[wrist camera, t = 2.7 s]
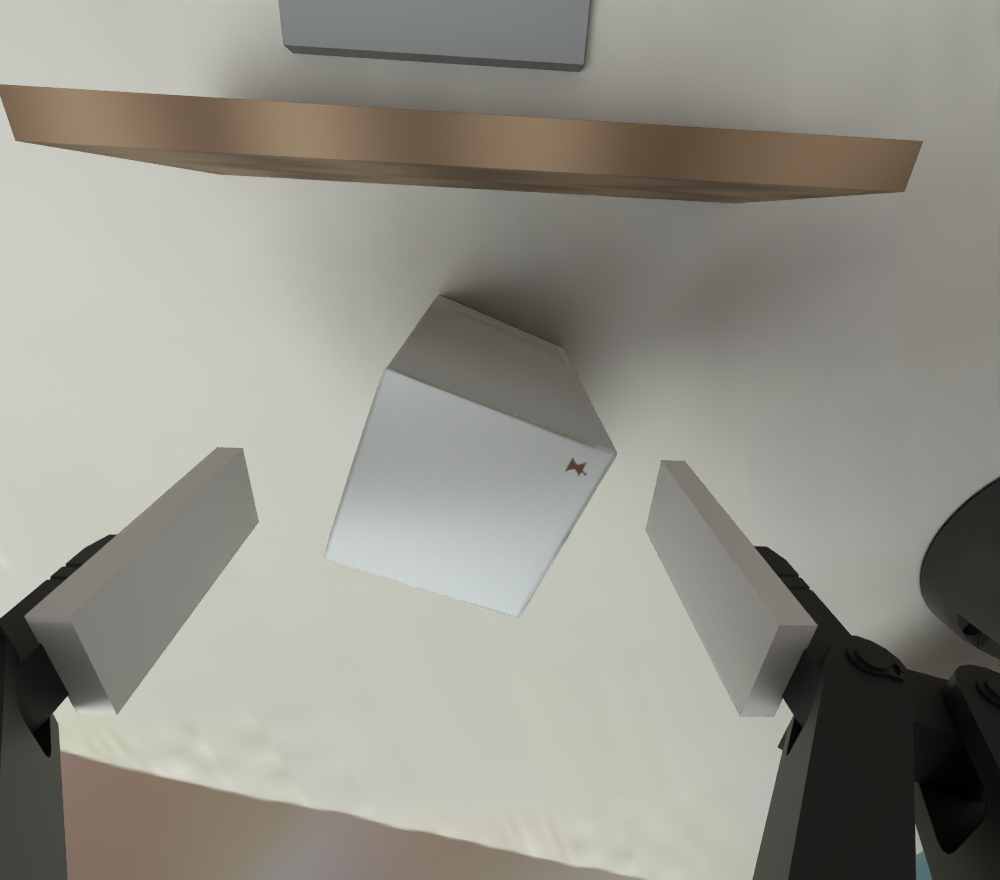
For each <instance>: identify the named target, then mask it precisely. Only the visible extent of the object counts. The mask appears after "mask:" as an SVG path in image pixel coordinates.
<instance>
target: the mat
mask: <svg viewBox="0 0 1000 880" xmlns="http://www.w3.org/2000/svg"><path fill="white" fill-rule="evenodd" d="M278 1H279V10H280V18H281V26H282V35H283V43H284V46H286V47H287V48H288V49H289V50H290V51H291V52H293V53H299V54H314V55H330V56H345V57H360V58H376V59H391V60H406V61H422V62H437V63H452V64H468V65H483V66H498V67H514V68H529V69H544V70H560V71H575V72H579V71H580V70H581V68H582V66H583V65H584V55H585V45H586V35H587V25H588V15H589V5H590V0H278Z"/></svg>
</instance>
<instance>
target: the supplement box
mask: <svg viewBox="0 0 1000 880" xmlns="http://www.w3.org/2000/svg"><path fill="white" fill-rule="evenodd" d="M616 456H617V452H616V450H615V448H614V446H613V444H612V442H611V440H610V438H609V436H608V434H607V433H606V431H605V429H604V427H603V425H602V423H601V421H600V419H599V417H598V415H597V413H596V411H595V409H594V408H593V406H592V404H591V402H590V400H589V398H588V396H587V394H586V392H585V390H584V388H583V386H582V384H581V382H580V380H579V379H578V377H577V375H576V373H575V371H574V369H573V367H572V365H571V363H570V361H569V359H568V357H567V355H566V354H565V352H564V350H563V348H562V347H559V346H557V345H555V344H552V343H550V342H547V341H545V340H543V339H541V338H538V337H536V336H533V335H531V334H529V333H526V332H524V331H522V330H520V329H517V328H515V327H512V326H510V325H508V324H505V323H503V322H501V321H498V320H496V319H494V318H492V317H489V316H487V315H485V314H482V313H480V312H478V311H475V310H473V309H471V308H468V307H466V306H464V305H461V304H459V303H457V302H454V301H452V300H450V299H447V298H445V297H442V296H438V297H436V299H435V300H434V301H433V303H432V304H431V305H430V307H429V308H428V310H427V311H426V313H425V314H424V315H423V317H422V318H421V320H420V321H419V323H418V324H417V326H416V327H415V329H414V330H413V331H412V333H411V334H410V336H409V337H408V339H407V340H406V341H405V343H404V344H403V346H402V347H401V348H400V350H399V351H398V353H397V354H396V355H395V357H394V358H393V360H392V361H391V363H390V364H389V365H388V366H387V368H386V369H385V370H384V372H383V375H382V377H381V380H380V382H379V385H378V388H377V391H376V393H375V396H374V399H373V402H372V405H371V408H370V411H369V414H368V417H367V420H366V423H365V426H364V429H363V432H362V435H361V438H360V441H359V444H358V447H357V450H356V453H355V457H354V460H353V463H352V466H351V469H350V472H349V476H348V479H347V482H346V485H345V488H344V492H343V495H342V498H341V501H340V504H339V508H338V511H337V514H336V517H335V520H334V523H333V527H332V530H331V534H330V537H329V541H328V544H327V548H326V551H325V555H324V558H325V559H326V560H328V561H332V562H335V563H338V564H341V565H345V566H348V567H351V568H354V569H358V570H361V571H364V572H367V573H371V574H374V575H377V576H381V577H384V578H388V579H391V580H394V581H397V582H401V583H404V584H407V585H411V586H414V587H417V588H421V589H424V590H427V591H431V592H434V593H438V594H442V595H445V596H449V597H452V598H455V599H459V600H462V601H465V602H468V603H471V604H474V605H477V606H480V607H483V608H486V609H489V610H493V611H496V612H499V613H502V614H505V615H508V616H511V617H514V618H518V617H519V616H521V615H522V614H523V612H524V611H525V609H526V607H527V606H528V604H529V603H530V601H531V599H532V597H533V596H534V594H535V592H536V590H537V588H538V587H539V585H540V584H541V582H542V580H543V578H544V577H545V575H546V573H547V572H548V570H549V568H550V567H551V565H552V563H553V561H554V560H555V558H556V556H557V555H558V553H559V552H560V550H561V548H562V547H563V545H564V544H565V543H566V541H567V539H568V538H569V536H570V534H571V532H572V530H573V528H574V526H575V524H576V523H577V521H578V519H579V518H580V516H581V514H582V512H583V511H584V509H585V507H586V506H587V504H588V502H589V501H590V499H591V497H592V495H593V494H594V492H595V490H596V489H597V487H598V485H599V484H600V482H601V480H602V479H603V477H604V475H605V474H606V472H607V470H608V469H609V467H610V466H611V464H612V463H613V461H614V460H615V458H616Z"/></svg>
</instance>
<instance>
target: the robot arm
mask: <svg viewBox="0 0 1000 880" xmlns="http://www.w3.org/2000/svg"><path fill="white" fill-rule="evenodd" d="M258 522H259V521H258V516H257V512H256V507H255V502H254V498H253V493H252V489H251V484H250V479H249V475H248V470H247V466H246V461H245V456H244V452H243V448H219V447H217V448H216V449H215V450H214V451H212V452H211V453H210V454H209V455H208V456H207V457H206V458H204V459H203V460H202V461H201V462H200V463H199V464H198V465H196V466H195V467H194V468H193V469H192V470H191V471H190V472H188V473H187V474H186V475H185V476H184V477H183V478H182V479H180V480H179V481H178V482H177V483H176V484H175V485H174V486H172V487H171V488H170V489H169V490H168V491H167V492H166V493H164V494H163V495H162V496H161V497H160V498H159V499H158V500H156V501H155V502H154V503H153V504H152V505H151V506H149V507H148V508H147V509H146V510H145V511H144V512H143V513H141V514H140V515H139V516H138V517H137V518H136V519H135V520H133V521H132V522H131V523H130V524H129V525H128V526H127V527H125V528H124V529H123V530H122V531H121V532H120V533H119V534H117V535H108V536H106V537H104V538H102V539H100V540H99V541H97V542H95V543H93V544H91V545H89V546H87V547H86V548H84V549H83V550H82V551H80V552H79V553H78V554H77V555H76V556H75V557H73V558H72V559H71V560H70V561H69V562H67V563H66V566H65V567H61V568H60V569H59V570H58V571H57V572H55V573H54V574H53V575H52V576H51V578H50V580H46V581H45V582H43V583H42V584H41V585H40V586H39V587H37V588H36V589H35V590H34V591H33V592H31V593H30V594H29V595H28V596H27V597H25V598H24V599H23V600H22V601H21V602H19V603H18V604H17V605H16V606H15V607H13V608H12V609H11V610H10V611H9V612H7V613H6V614H5V615H4V616H3V617H2V618H0V880H67V864H66V847H65V829H64V813H63V796H62V778H61V761H60V744H59V727H58V723H57V721H56V719H55V717H54V715H53V712H54V711H55V710H56V709H57V707H58V706H59V705H60V704H61V703H62V702H63V701H64V699H65V698H66V697H67V696H68V697H69V699H70V701H71V703H72V705H73V707H74V708H75V710H76V712H77V714H78V715H117V714H118V713H119V711H120V710H121V709H122V707H123V706H124V705H125V703H126V702H127V701H128V699H129V698H130V696H131V695H132V694H133V692H134V691H135V690H136V688H137V687H138V686H139V684H140V683H141V682H142V680H143V679H144V677H145V676H146V675H147V673H148V672H149V671H150V669H151V668H152V667H153V665H154V664H155V662H156V661H157V660H158V658H159V657H160V656H161V654H162V653H163V652H164V650H165V649H166V647H167V646H168V645H169V643H170V642H171V641H172V639H173V638H174V637H175V635H176V634H177V632H178V631H179V630H180V628H181V627H182V626H183V624H184V623H185V622H186V620H187V619H188V617H189V616H190V615H191V613H192V612H193V611H194V609H195V608H196V607H197V605H198V604H199V602H200V601H201V600H202V598H203V597H204V596H205V594H206V593H207V592H208V590H209V589H210V587H211V586H212V585H213V583H214V582H215V581H216V579H217V578H218V577H219V575H220V574H221V572H222V571H223V570H224V568H225V567H226V566H227V564H228V563H229V562H230V560H231V559H232V557H233V556H234V555H235V553H236V552H237V551H238V549H239V548H240V547H241V545H242V544H243V543H244V541H245V540H246V538H247V537H248V536H249V534H250V533H251V532H252V530H253V529H254V528H255V526H256V525H257V523H258ZM646 532H647V534H648V536H649V538H650V540H651V542H652V544H653V546H654V548H655V550H656V552H657V554H658V556H659V558H660V560H661V562H662V564H663V566H664V568H665V570H666V571H667V573H668V575H669V577H670V579H671V581H672V583H673V585H674V587H675V589H676V591H677V593H678V595H679V597H680V599H681V601H682V603H683V605H684V607H685V609H686V611H687V613H688V615H689V617H690V619H691V621H692V623H693V625H694V627H695V629H696V631H697V633H698V634H699V636H700V638H701V640H702V642H703V644H704V646H705V648H706V650H707V652H708V654H709V656H710V658H711V660H712V662H713V664H714V666H715V668H716V670H717V672H718V674H719V676H720V678H721V680H722V682H723V684H724V686H725V688H726V690H727V692H728V694H729V696H730V697H731V699H732V701H733V703H734V705H735V707H736V709H737V711H738V713H739V715H740V716H775V713H776V711H777V709H778V707H779V705H780V703H781V701H782V699H783V698H784V700H785V702H786V703H787V705H788V707H789V708H790V710H791V711H792V713H793V715H794V716H793V718H792V720H791V722H790V724H789V726H788V727H787V729H786V731H785V733H784V735H783V737H782V739H781V741H780V743H779V745H778V748H780V749H782V750H783V752H782V756H781V760H780V764H779V769H778V773H777V777H776V782H775V786H774V790H773V794H772V799H771V803H770V807H769V812H768V816H767V820H766V824H765V829H764V833H763V837H762V841H761V846H760V850H759V854H758V859H757V863H756V867H755V871H754V876H753V880H1000V673H997V672H995V671H992V670H990V669H987V668H984V667H979V666H974V665H964V666H959V667H958V669H957V670H956V671H955V672H954V673H953V675H952V676H951V678H950V679H949V680H945V679H942V678H938V677H934V676H930V675H926V674H922V673H919V672H915V671H911V670H907V669H906V667H905V666H904V665H903V664H902V662H901V661H900V660H899V659H898V658H897V657H895V656H894V655H893V654H892V653H890V652H889V651H888V650H887V649H885V648H883V647H881V646H879V645H878V644H876V643H874V642H872V641H870V640H867V639H864V638H861V637H858V636H853V635H851V634H850V633H849V632H848V631H847V630H846V629H845V628H844V626H843V625H842V624H841V623H840V622H839V621H838V620H837V618H836V617H835V616H834V615H833V614H832V613H831V611H830V610H829V609H828V608H827V607H826V606H825V605H824V603H823V602H822V601H821V600H820V599H819V598H818V596H817V595H816V594H815V593H814V592H813V591H812V590H810V589H809V586H808V585H807V584H806V583H805V582H804V580H803V579H802V578H799V575H798V573H797V572H796V571H795V570H794V569H793V568H792V567H791V565H790V564H789V563H788V562H787V561H786V560H785V559H784V558H782V557H781V556H779V555H778V554H777V553H775V552H774V551H772V550H771V549H769V548H768V547H761V546H753V545H752V544H751V542H750V541H749V540H748V539H747V537H746V536H745V535H744V534H743V532H742V531H741V530H740V529H739V527H738V526H737V525H736V524H735V523H734V521H733V520H732V519H731V518H730V516H729V515H728V514H727V513H726V511H725V510H724V509H723V508H722V506H721V505H720V504H719V503H718V502H717V500H716V499H715V498H714V497H713V495H712V494H711V493H710V492H709V490H708V489H707V488H706V487H705V485H704V484H703V483H702V482H701V480H700V479H699V478H698V477H697V476H696V474H695V473H694V472H693V471H692V469H691V468H690V467H689V466H688V464H687V463H686V462H685V461H666V460H661V464H660V469H659V473H658V478H657V482H656V486H655V491H654V495H653V500H652V504H651V508H650V513H649V517H648V521H647V526H646ZM921 591H922V596H923V598H924V601H925V603H926V605H927V606H928V608H929V609H930V610H931V611H932V613H933V614H935V615H936V616H937V617H938V618H939V619H940V620H941V621H942V622H944V623H945V624H946V625H947V626H948V627H949V628H950V629H951V630H953V631H954V632H955V633H956V634H957V635H958V636H959V637H961V638H962V639H964V640H965V641H966V642H968V643H969V644H971V645H973V646H975V647H976V648H978V649H980V650H982V651H984V652H986V653H988V654H990V655H992V656H994V657H996V658H997V659H999V660H1000V480H999V481H997V482H996V483H994V484H993V485H991V486H990V487H988V488H987V489H985V490H984V491H982V492H981V493H980V494H978V495H977V496H976V497H974V498H973V499H972V500H971V501H970V502H968V503H967V504H966V505H965V506H964V507H963V508H962V509H961V510H959V511H958V512H957V513H956V514H955V515H954V516H953V517H952V519H951V520H950V521H949V522H948V523H947V524H946V525H945V527H944V528H943V529H942V530H941V532H940V533H939V535H938V536H937V537H936V539H935V541H934V542H933V544H932V546H931V547H930V549H929V551H928V553H927V556H926V558H925V561H924V564H923V568H922V572H921ZM915 824H916V827H917V830H918V834H919V837H920V840H921V844H922V847H923V850H924V851H922V852H920V853H919V854H917V855H916V847H915Z"/></svg>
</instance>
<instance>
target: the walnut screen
mask: <svg viewBox="0 0 1000 880" xmlns="http://www.w3.org/2000/svg"><path fill="white" fill-rule="evenodd" d="M0 96H1V99H2V102H3V105H4V108H5V111H6V114H7V117H8V120H9V123H10V126H11V129H12V132H13V135H14V138H15V141H20V142H26V143H32V144H38V145H44V146H50V147H56V148H62V149H69V150H75V151H81V152H87V153H93V154H99V155H105V156H111V157H117V158H123V159H129V160H135V161H141V162H147V163H153V164H159V165H165V166H171V167H177V168H183V169H189V170H195V171H201V172H208V173H214V174H221V175H239V176H257V177H275V178H293V179H311V180H329V181H347V182H364V183H382V184H400V185H418V186H436V187H454V188H472V189H490V190H508V191H526V192H544V193H562V194H580V195H597V196H615V197H633V198H651V199H669V200H687V201H705V202H723V203H745V202H760V201H775V200H789V199H804V198H819V197H834V196H849V195H864V194H879V193H894V192H904V191H905V189H906V186H907V183H908V180H909V178H910V175H911V172H912V170H913V167H914V164H915V162H916V159H917V156H918V154H919V151H920V148H921V146H922V143H923V141H911V140H895V139H879V138H863V137H846V136H830V135H814V134H798V133H781V132H765V131H749V130H733V129H716V128H700V127H684V126H668V125H651V124H635V123H619V122H603V121H586V120H570V119H554V118H538V117H521V116H505V115H489V114H473V113H456V112H440V111H424V110H408V109H391V108H375V107H359V106H343V105H326V104H310V103H294V102H277V101H261V100H245V99H229V98H212V97H196V96H180V95H164V94H147V93H131V92H115V91H99V90H82V89H66V88H50V87H34V86H17V85H1V84H0Z"/></svg>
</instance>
